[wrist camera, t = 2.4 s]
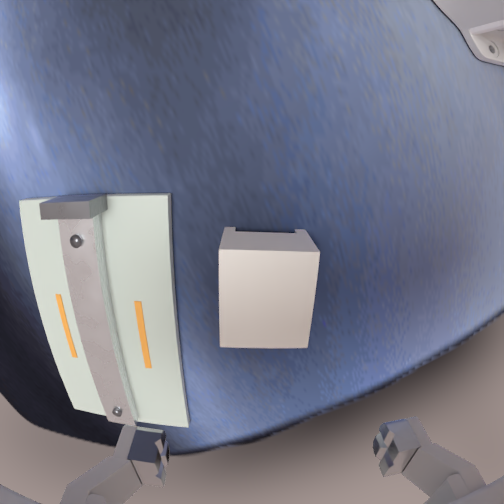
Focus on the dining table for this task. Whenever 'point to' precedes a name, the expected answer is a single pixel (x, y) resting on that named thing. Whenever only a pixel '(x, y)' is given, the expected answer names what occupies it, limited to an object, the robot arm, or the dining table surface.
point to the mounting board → (117, 303)
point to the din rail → (93, 298)
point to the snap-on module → (266, 288)
